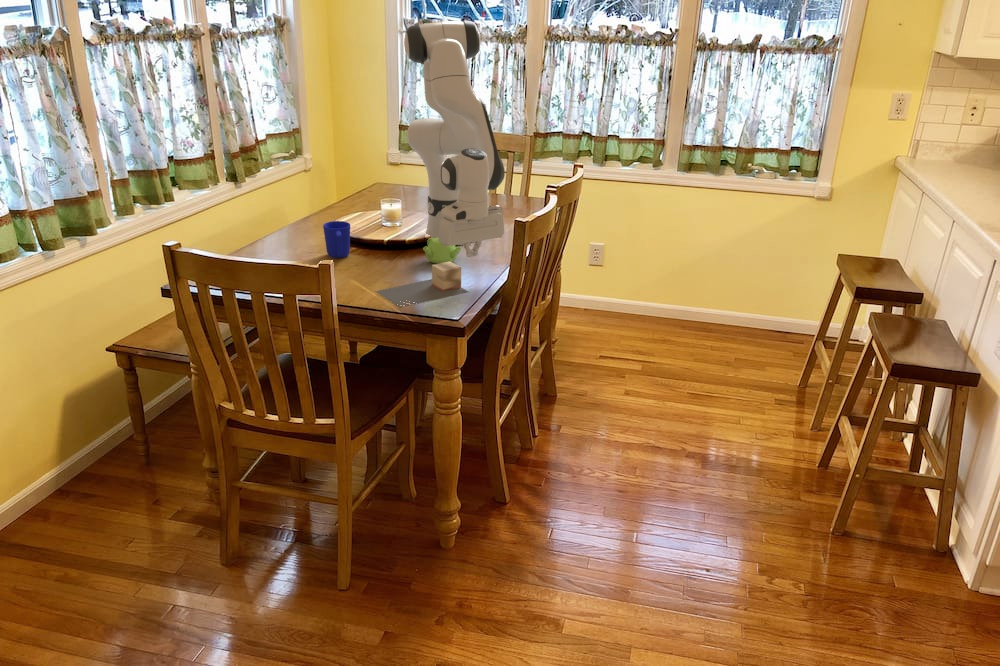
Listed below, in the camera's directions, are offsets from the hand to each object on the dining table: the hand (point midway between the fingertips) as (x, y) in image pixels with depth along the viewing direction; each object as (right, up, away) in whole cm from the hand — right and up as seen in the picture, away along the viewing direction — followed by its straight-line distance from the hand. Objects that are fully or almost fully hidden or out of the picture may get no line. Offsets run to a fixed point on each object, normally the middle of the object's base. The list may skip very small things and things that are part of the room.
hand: (471, 256), depth 230 cm
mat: (-14, -11, -5) cm, 18 cm away
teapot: (-9, -1, +18) cm, 20 cm away
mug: (-42, +1, +20) cm, 46 cm away
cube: (-7, -9, -1) cm, 11 cm away
